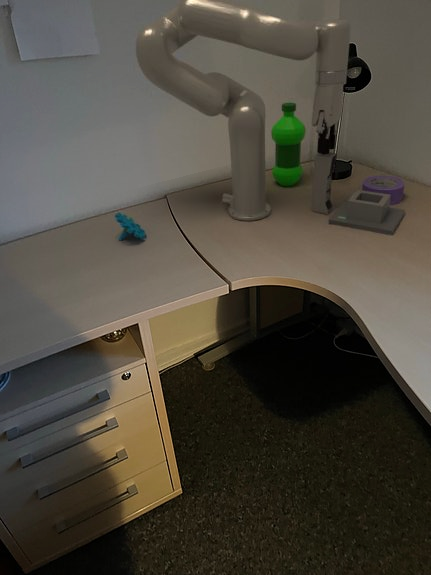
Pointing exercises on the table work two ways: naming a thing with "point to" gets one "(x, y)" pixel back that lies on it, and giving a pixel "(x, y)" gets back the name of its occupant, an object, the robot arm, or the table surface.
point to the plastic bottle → (288, 146)
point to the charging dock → (368, 213)
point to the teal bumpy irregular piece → (129, 226)
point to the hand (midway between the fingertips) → (325, 150)
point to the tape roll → (385, 187)
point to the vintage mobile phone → (322, 182)
